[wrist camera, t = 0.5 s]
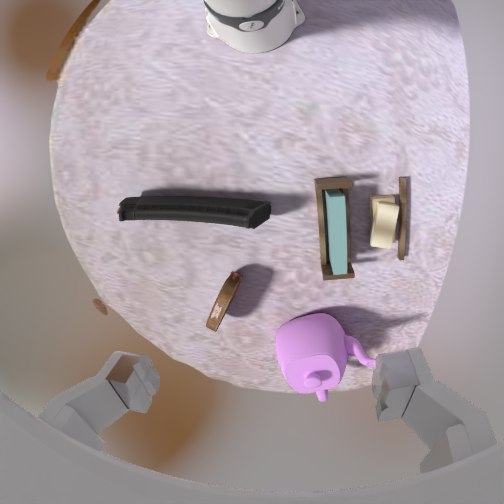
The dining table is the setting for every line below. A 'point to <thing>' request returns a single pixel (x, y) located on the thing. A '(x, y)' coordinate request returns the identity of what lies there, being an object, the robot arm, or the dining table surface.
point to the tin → (223, 300)
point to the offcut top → (384, 225)
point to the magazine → (196, 210)
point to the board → (336, 230)
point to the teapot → (316, 353)
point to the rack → (345, 184)
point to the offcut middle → (384, 200)
